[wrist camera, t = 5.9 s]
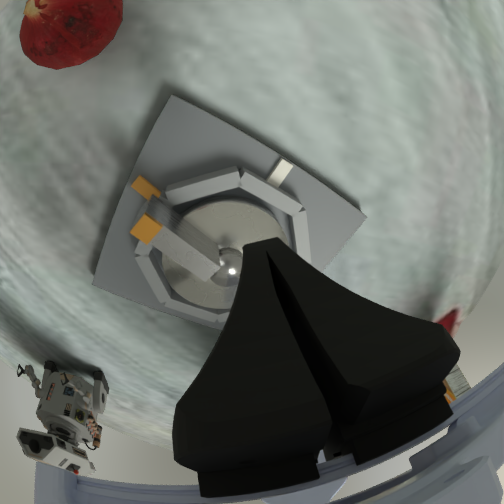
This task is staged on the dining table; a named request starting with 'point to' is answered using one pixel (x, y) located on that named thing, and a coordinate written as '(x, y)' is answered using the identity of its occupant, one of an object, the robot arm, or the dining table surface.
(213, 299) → the dial
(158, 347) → the dining table surface
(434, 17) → the dining table surface
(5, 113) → the dining table surface
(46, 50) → the onion
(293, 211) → the board
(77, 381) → the figurine
